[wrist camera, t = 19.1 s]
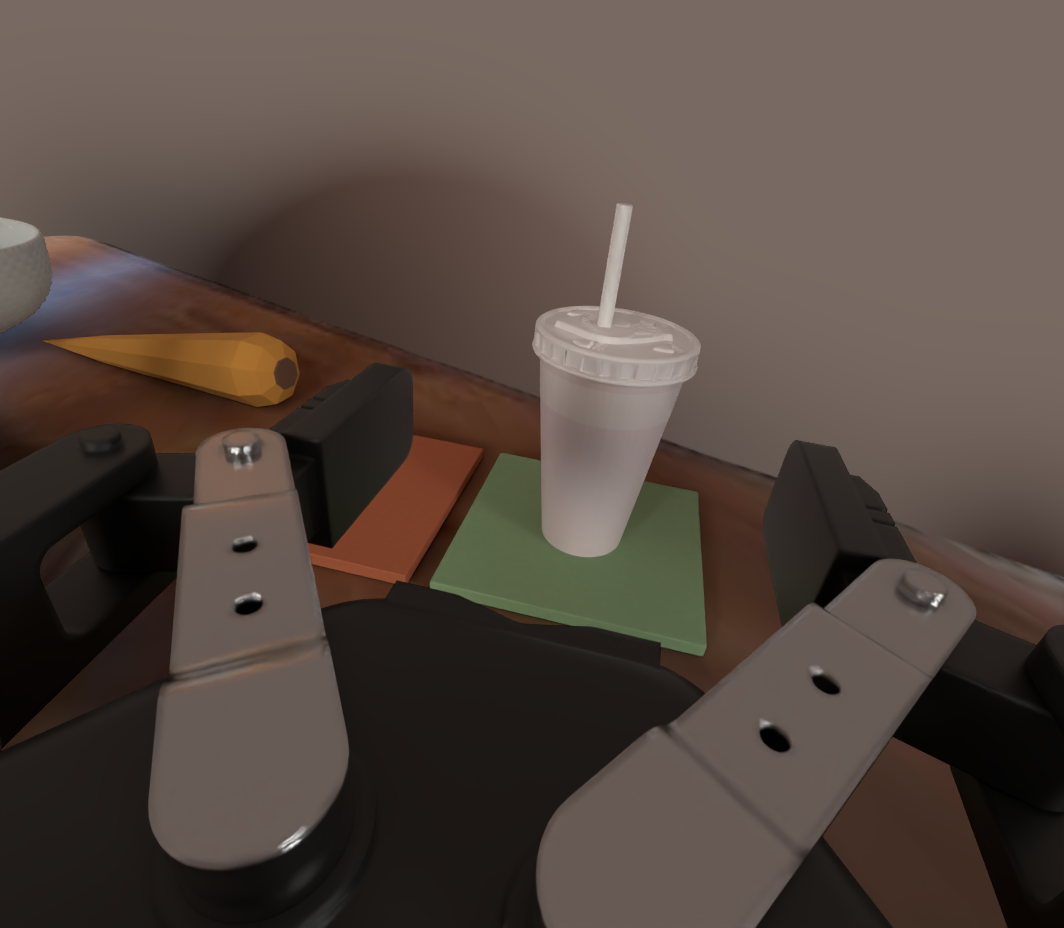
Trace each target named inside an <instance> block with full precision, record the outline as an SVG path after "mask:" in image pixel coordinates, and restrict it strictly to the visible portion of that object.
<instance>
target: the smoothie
mask: <svg viewBox="0 0 1064 928" xmlns="http://www.w3.org/2000/svg"><path fill="white" fill-rule="evenodd" d="M632 208H633V206H632V205H629V204H624V203H617V205H616V211H615V217H614V223H613V230H612V236H611V242H610V248H609V254H608V260H607V266H606V273H605V279H604V285H603V291H602V297H601V303H600V306H572V307H564V308H558V309H554V310H550V311H548V312H546V313H544V314H543V315H541V316H540V317H539V318H538V319H537V321H536V328H535V338H534V340H533V343H532V346H533V349H534V352H535V354H536V355H537V356H538V357H539V358H540V416H541V506H542V532H543V535H544V537H545V538H546V540H547V541H548V542H549V543H550V544H551V545H552V546H554V547H555V548H557V549H558V550H560V551H562V552H565V553H567V554H570V555H574V556H579V557H598V556H603V555H606V554H608V553H610V552H612V551H613V550H615V549H616V547H617V546H618V545H619V542H620V540H621V537H622V535H623V532H624V530H625V527H626V525H627V522H628V520H629V517H630V515H631V512H632V510H633V507H634V505H635V502H636V500H637V497H638V495H639V492H640V490H641V487H642V485H643V482H644V480H645V477H646V475H647V472H648V470H649V467H650V465H651V462H652V460H653V457H654V455H655V452H656V449H657V447H658V444H659V442H660V439H661V437H662V434H663V432H664V429H665V427H666V424H667V422H668V419H669V417H670V415H671V413H672V409H673V407H674V404H675V402H676V399H677V397H678V394H679V391H680V389H681V386H682V383H683V382H685V381H687V380H688V379H690V378H691V377H693V376H694V375H695V373H696V370H697V369H698V366H697V361H698V357H699V353H700V349H701V345H700V342H699V340H698V339H697V338H696V337H695V336H694V335H693V334H692V333H691V332H690V331H688V330H687V329H685V328H683V327H681V326H679V325H677V324H675V323H673V322H670V321H668V320H665V319H663V318H659V317H656V316H653V315H649V314H645V313H641V312H637V311H631V310H626V309H620V308H615V304H616V298H617V293H618V287H619V281H620V275H621V270H622V264H623V259H624V253H625V247H626V242H627V236H628V230H629V225H630V219H631V213H632Z"/></svg>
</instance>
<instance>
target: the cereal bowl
mask: <svg viewBox="0 0 1064 928" xmlns="http://www.w3.org/2000/svg"><path fill="white" fill-rule="evenodd" d="M51 277H52V270H51V263H50V259H49V255H48V250H47V248H46V243H45V239H44V237H43V235H42V234H41V232H40V230H39V229H38V228H37V227H35V226H33V225H31V224H28V223H25V222H21V221H17V220H12V219H7V218H0V333H2V332H4V331H6V330H8V329H10V328H12V327H15V326H16V325H17V324H20V323H22V322H23V321H24V320H25V319H27V318H29V317H30V316H31V315H32V314H34V313H35V312H36V310H37V309H39V308H40V306H41V305H42V303H43V302H44V301H45V300H46V296H47V295H48V294H49V291H50V285H51V284H52V281H51Z"/></svg>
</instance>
